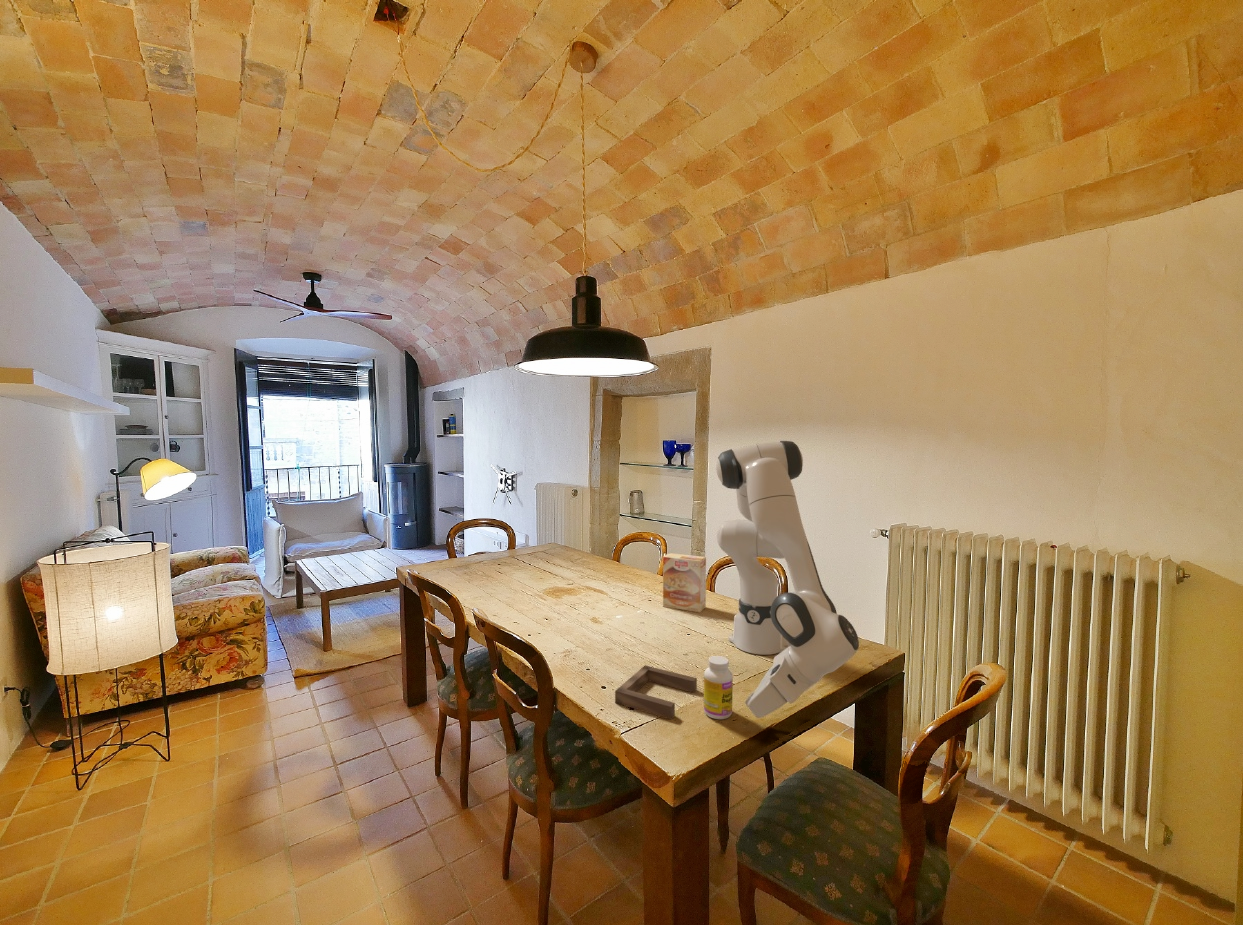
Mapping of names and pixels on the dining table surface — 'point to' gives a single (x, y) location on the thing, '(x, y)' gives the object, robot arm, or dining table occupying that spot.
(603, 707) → the dining table surface
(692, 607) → the coffeecake box
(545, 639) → the dining table surface
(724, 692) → the supplement bottle
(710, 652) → the dining table surface
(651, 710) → the bay
